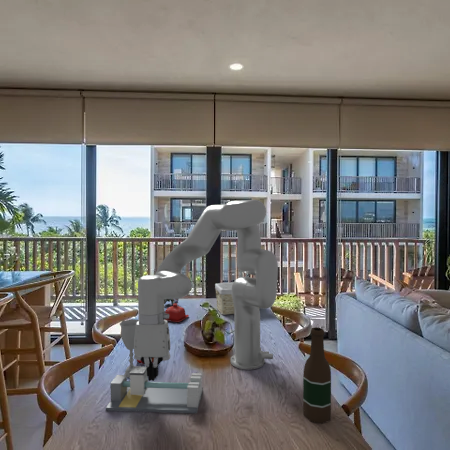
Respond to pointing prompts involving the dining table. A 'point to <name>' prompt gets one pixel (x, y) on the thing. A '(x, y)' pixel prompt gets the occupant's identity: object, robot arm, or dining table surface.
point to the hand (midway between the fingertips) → (152, 378)
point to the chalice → (129, 340)
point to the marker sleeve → (138, 380)
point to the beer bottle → (317, 381)
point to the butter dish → (176, 313)
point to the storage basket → (224, 298)
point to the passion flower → (171, 301)
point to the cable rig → (157, 396)
